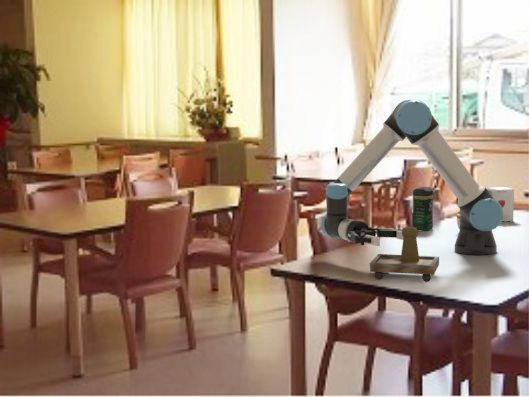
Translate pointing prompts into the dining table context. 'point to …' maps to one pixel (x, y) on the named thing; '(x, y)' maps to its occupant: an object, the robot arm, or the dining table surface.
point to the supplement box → (504, 201)
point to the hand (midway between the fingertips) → (395, 239)
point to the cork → (409, 245)
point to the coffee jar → (423, 208)
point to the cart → (404, 266)
